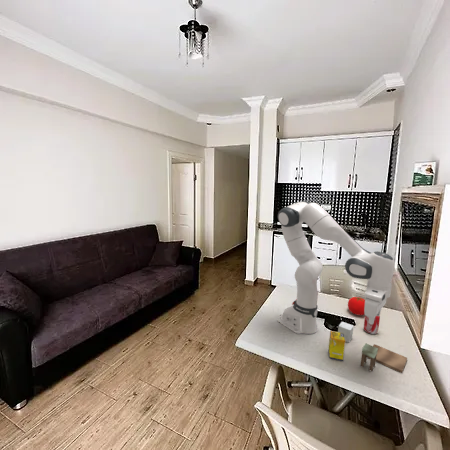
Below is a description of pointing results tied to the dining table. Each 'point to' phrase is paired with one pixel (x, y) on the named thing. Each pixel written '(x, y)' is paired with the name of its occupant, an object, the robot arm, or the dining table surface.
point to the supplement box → (336, 346)
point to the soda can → (369, 327)
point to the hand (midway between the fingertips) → (374, 319)
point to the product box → (346, 330)
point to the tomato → (356, 305)
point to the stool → (370, 352)
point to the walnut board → (390, 359)
